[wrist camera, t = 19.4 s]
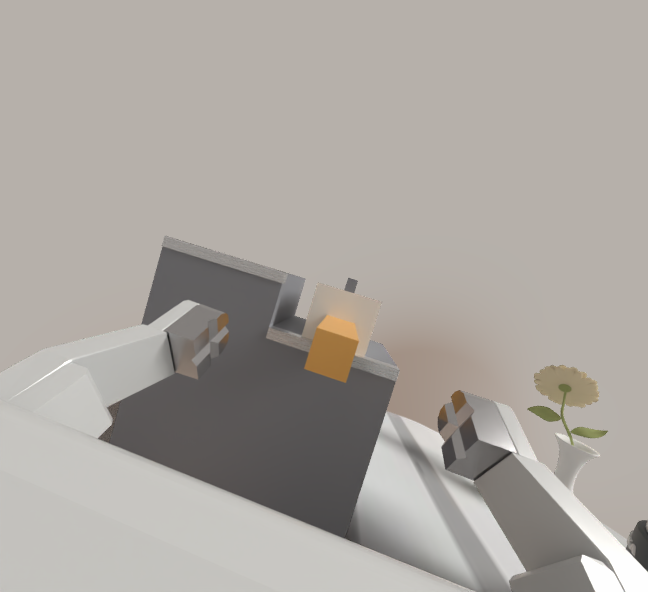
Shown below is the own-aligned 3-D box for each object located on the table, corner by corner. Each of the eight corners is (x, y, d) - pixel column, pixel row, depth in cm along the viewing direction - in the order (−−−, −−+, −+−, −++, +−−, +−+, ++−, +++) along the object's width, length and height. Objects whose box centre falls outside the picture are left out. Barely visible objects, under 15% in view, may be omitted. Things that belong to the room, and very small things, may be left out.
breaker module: (374, 392, 16) (409, 284, 16) (276, 359, 17) (308, 254, 16) (359, 338, 35) (375, 288, 35) (314, 323, 36) (329, 274, 35)
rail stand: (340, 552, 25) (418, 312, 24) (104, 456, 27) (164, 235, 26) (342, 467, 37) (394, 305, 36) (179, 406, 39) (222, 253, 38)
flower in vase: (606, 550, 36) (664, 395, 35) (592, 583, 30) (663, 396, 29) (506, 478, 47) (549, 358, 46) (481, 492, 41) (530, 353, 40)
